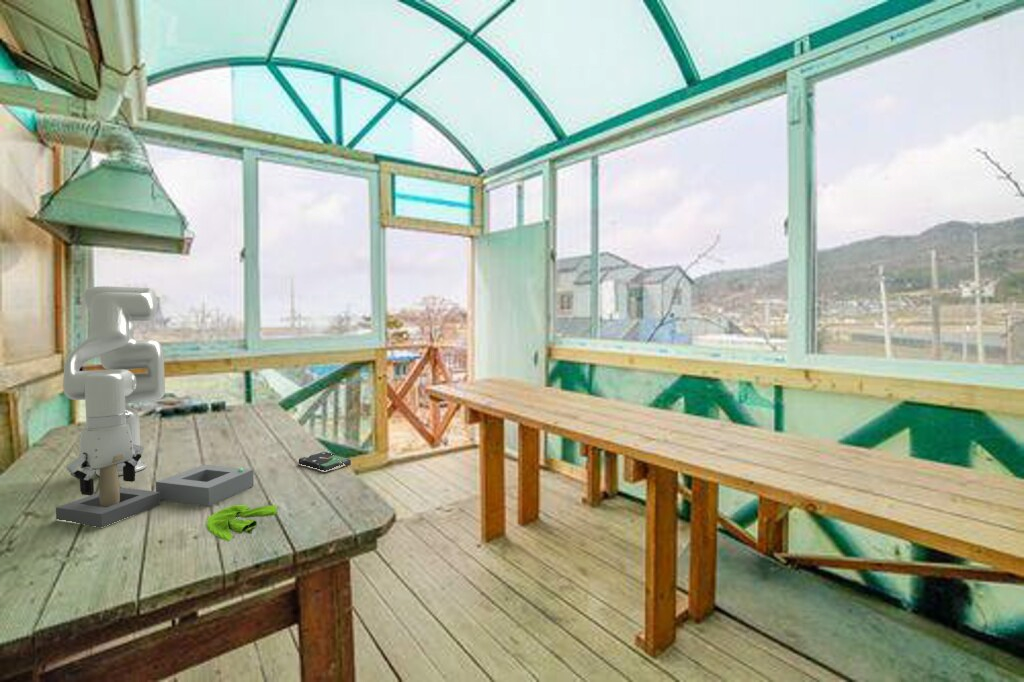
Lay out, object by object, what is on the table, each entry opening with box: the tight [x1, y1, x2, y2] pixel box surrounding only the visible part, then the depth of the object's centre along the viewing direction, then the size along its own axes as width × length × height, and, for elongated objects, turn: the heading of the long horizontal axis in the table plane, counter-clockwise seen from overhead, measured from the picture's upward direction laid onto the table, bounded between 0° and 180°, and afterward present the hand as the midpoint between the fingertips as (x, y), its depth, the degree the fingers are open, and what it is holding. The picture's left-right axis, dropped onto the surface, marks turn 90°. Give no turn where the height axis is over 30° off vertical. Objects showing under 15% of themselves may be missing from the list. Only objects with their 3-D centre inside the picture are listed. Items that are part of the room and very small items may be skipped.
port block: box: [155, 464, 255, 507], centre depth 131 cm, size 18×15×6 cm
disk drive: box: [298, 451, 352, 471], centre depth 156 cm, size 10×3×15 cm
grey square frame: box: [55, 486, 161, 528], centre depth 117 cm, size 15×14×4 cm
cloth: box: [205, 504, 278, 542], centre depth 113 cm, size 20×22×2 cm
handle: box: [98, 454, 124, 508], centre depth 117 cm, size 5×6×15 cm
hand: (109, 487), depth 117 cm, fingers open, 9 cm apart
